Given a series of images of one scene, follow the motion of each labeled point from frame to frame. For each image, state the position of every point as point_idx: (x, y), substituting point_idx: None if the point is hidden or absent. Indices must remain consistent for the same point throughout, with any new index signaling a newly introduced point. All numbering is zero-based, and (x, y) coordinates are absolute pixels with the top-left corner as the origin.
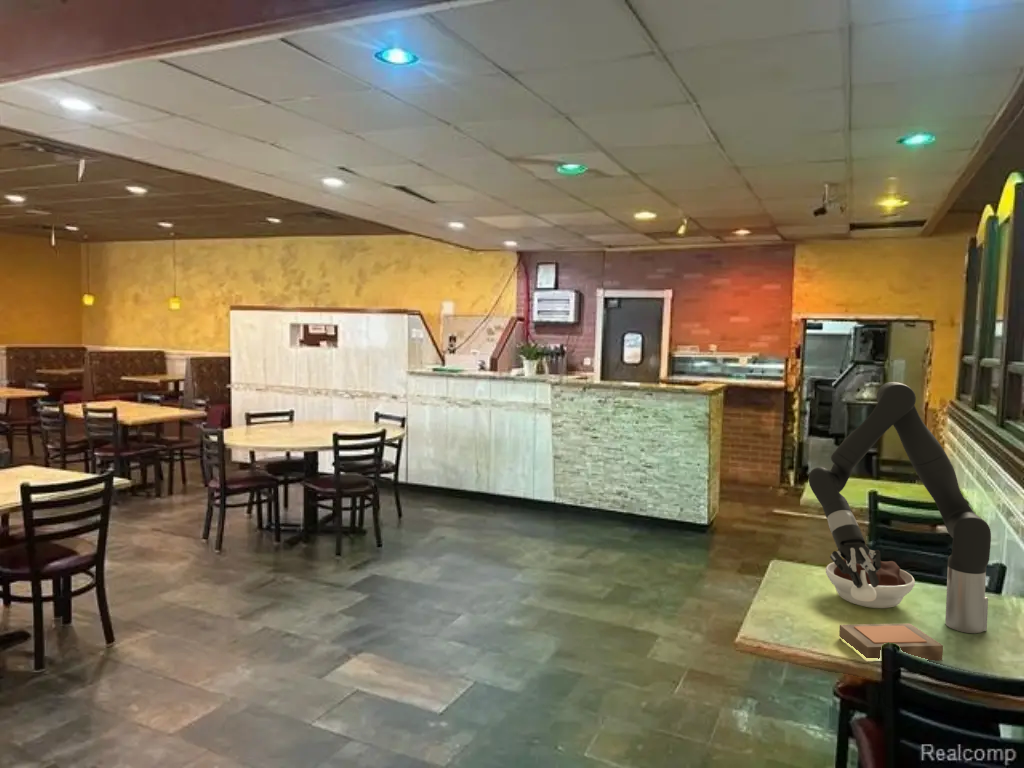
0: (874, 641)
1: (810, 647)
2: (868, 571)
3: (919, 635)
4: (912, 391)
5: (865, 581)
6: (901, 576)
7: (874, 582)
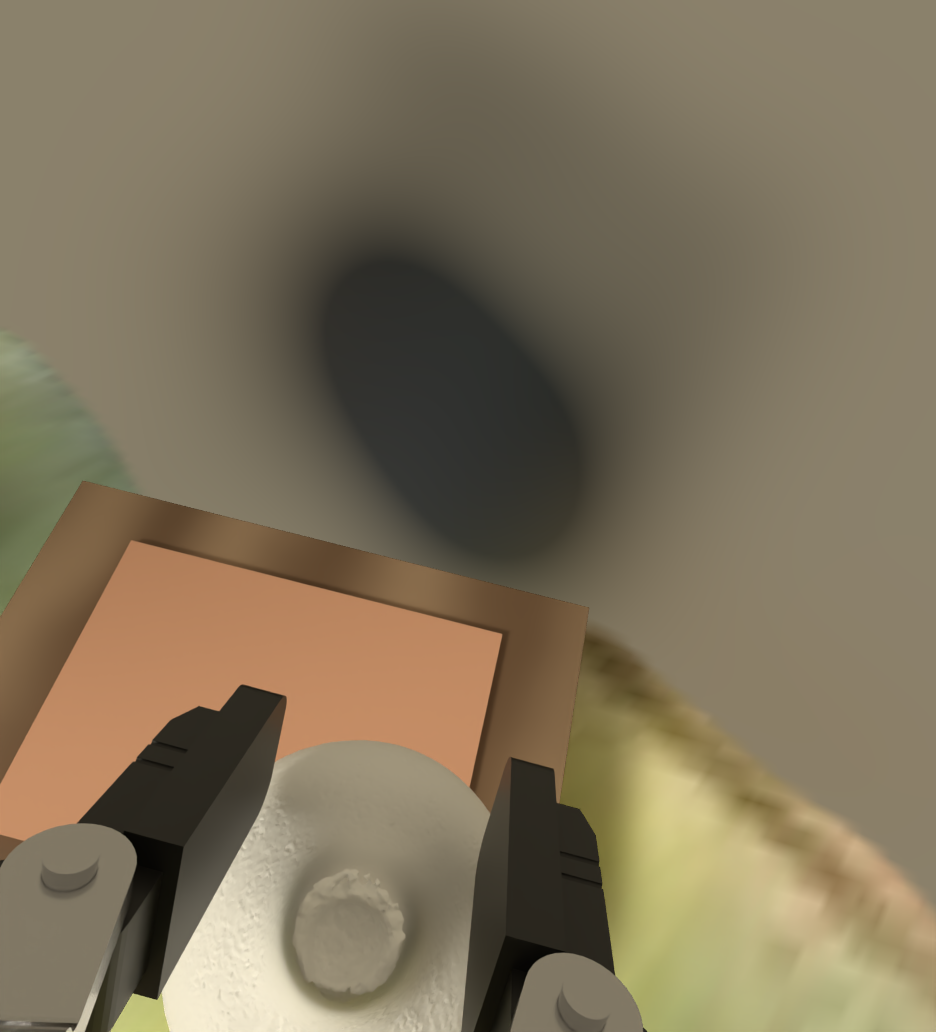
0: (491, 646)
1: (812, 951)
2: (117, 998)
3: (56, 644)
4: None
5: (356, 857)
6: None
7: (272, 729)
